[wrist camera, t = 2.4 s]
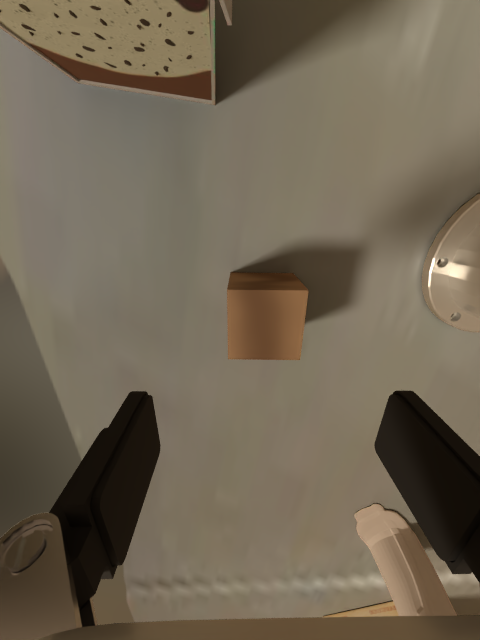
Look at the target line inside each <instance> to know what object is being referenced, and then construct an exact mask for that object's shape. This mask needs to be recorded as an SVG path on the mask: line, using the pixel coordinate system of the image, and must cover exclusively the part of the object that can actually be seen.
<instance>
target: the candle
mask: <svg viewBox="0 0 480 640" xmlns="http://www.w3.org/2000/svg"><path fill="white" fill-rule="evenodd" d="M354 516H355V518H356V520H357V526H356V530H357V532H358V534H359V536H360V538H361V539H362V540H363V541H364V542H365V543H366V544H367V546H368V547H369V549H370V551H371V552H372V555H373V557H374V559H375V561H376V563H377V566H378V568H379V570H380V572H381V574H382V577H383V579H384V581H385V583H386V585H387V588H388V590H389V592H390V595H391V597H392V599H393V602H394V604H395V607H396V610H397V612H398V615H399V616H457V614H456V612H455V610H454V608H453V606H452V604H451V602H450V600H449V598H448V595H447V593H446V591H445V589H444V587H443V585H442V583H441V581H440V579H439V577H438V575H437V573H436V571H435V569H434V567H433V565H432V563H431V562H430V560H429V558H428V556H427V554H426V552H425V550H424V549H423V547H422V545H421V543H420V541H419V539H418V538H417V536H416V534H415V533H414V532H413V531H412V530H411V528H410V527H409V525H408V524H407V522H406V521H405V520H404V519H403V518H402V517H401V516H400V515H399V514H398V513H397V512H394V511H391V510H384V508H383V507H382V506H381V505H379V504H372V506H370V507H367V508H364V509H362V510H360V511H358V512H357V513H355V515H354Z"/></svg>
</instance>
